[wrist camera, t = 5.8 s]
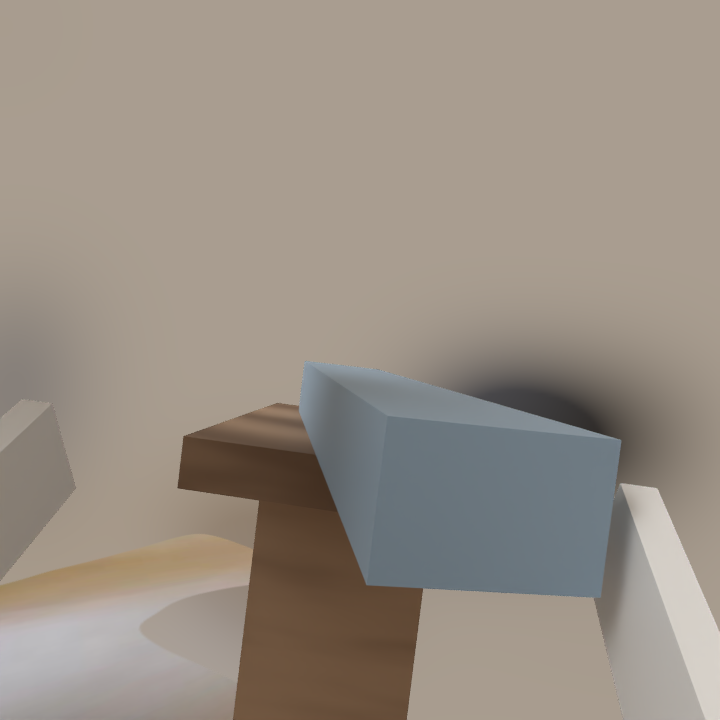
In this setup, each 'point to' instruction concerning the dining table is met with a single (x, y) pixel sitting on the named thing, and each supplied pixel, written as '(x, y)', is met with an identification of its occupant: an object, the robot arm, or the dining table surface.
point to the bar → (459, 486)
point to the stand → (304, 582)
